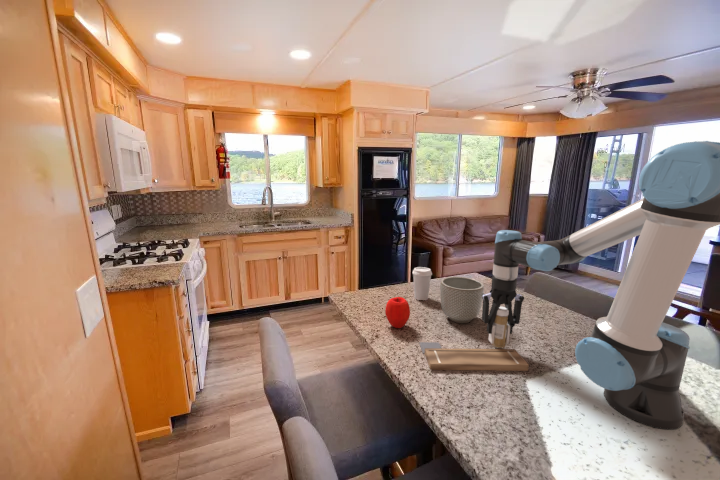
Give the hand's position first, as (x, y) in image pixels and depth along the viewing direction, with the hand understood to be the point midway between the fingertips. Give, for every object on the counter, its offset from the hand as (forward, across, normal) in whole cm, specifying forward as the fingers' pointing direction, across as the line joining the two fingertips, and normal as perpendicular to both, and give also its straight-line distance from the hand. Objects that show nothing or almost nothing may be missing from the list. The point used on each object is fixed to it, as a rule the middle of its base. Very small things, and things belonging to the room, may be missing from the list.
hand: (498, 341), depth 106 cm
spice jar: (+1, 0, 0) cm, 1 cm away
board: (+3, +11, +8) cm, 14 cm away
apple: (+3, +33, -16) cm, 37 cm away
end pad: (+3, +23, 0) cm, 23 cm away
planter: (+3, +6, -23) cm, 24 cm away
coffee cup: (+3, +18, -46) cm, 50 cm away
